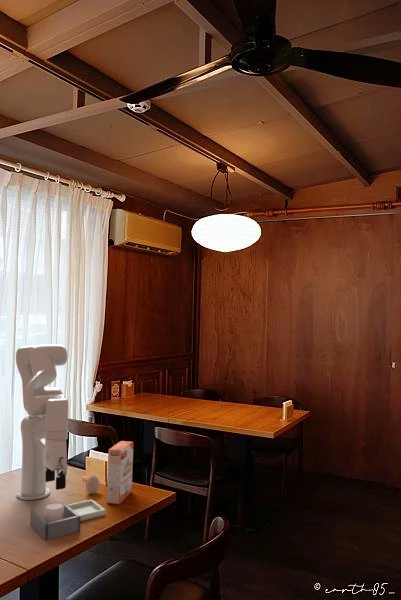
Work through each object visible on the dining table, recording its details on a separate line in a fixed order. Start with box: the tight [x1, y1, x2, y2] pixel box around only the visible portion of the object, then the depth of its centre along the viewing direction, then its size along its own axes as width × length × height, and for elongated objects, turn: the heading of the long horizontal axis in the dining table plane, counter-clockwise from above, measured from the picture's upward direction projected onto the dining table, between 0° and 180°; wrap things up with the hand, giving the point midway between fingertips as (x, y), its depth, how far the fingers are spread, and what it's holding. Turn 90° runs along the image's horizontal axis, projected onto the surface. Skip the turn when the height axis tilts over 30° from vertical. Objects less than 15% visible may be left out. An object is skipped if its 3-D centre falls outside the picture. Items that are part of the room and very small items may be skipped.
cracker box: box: [106, 440, 134, 505], centre depth 196 cm, size 14×6×21 cm, turn 168°
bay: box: [29, 501, 82, 541], centre depth 168 cm, size 14×12×5 cm
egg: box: [85, 474, 100, 495], centre depth 199 cm, size 5×5×7 cm
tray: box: [67, 498, 106, 522], centre depth 180 cm, size 12×12×2 cm
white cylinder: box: [43, 502, 64, 523], centre depth 169 cm, size 7×7×7 cm
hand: (55, 484), depth 168 cm, fingers open, 9 cm apart
